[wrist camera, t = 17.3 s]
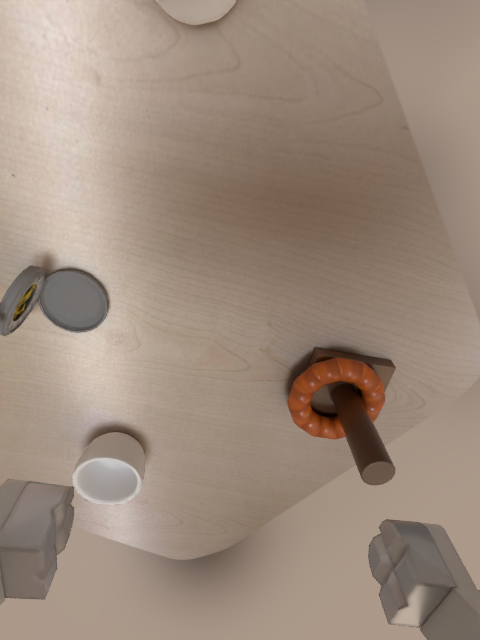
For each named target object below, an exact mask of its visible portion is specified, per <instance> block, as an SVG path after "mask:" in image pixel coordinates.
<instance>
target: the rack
mask: <svg viewBox="0 0 480 640" xmlns="http://www.w3.org/2000/svg"><path fill="white" fill-rule="evenodd" d="M337 357H340V358H346V359H352V360H358V361H362V362H364V363H365V364H367V365H368V366H369V367H370V368H371V369H372V370H373V371H375V372H376V373H377V374H378V375H379V376H380V377H381V379H382V383H383V388H384V392H385V390H386V388H387V386H388V384H389V381H390V379H391V377H392V375H393V373H394V371H395V369H396V367H395V366H394V364H393V363H392V361H391V360H386V359H380V358H374V357H368V356H362V355H356V354H350V353H344V352H338V351H332V350H326V349H320V348H315V349H314V352H313V355H312V357H311V360H310V363H309V366H308V368H309V367H310V366H311V365H313V364H315V363H319V362H322V361H326V360H329V359H333V358H337ZM310 404H311V407H312V410H313V411H314V412H316V413H317V414H318V415H320V416H326V417H336V416H338V418H339V420H340V423H341V426H342V428H343V431H344V433H345V436H346V439H347V441H348V444H349V447H350V449H351V452H352V455H353V457H354V460H355V462H356V465H357V468H358V470H359V473H360V475H361V478H362V480H363V481H364V482H365V483H367V484H369V485H381V484H384V483H386V482H388V481H389V480H391V479H392V477H393V476H394V475H395V467H394V465H393V463H392V461H391V459H390V457H389V455H388V453H387V451H386V449H385V446H384V444H383V442H382V440H381V438H380V436H379V434H378V432H377V430H376V428H375V426H374V424H373V422H372V420H371V418H370V416H369V414H368V412H367V410H366V408H365V406H364V404H363V401H362V399H361V391H360V388H359V387H357V386H356V385H355V384H354V383H351V382H345V381H337V382H333V383H330V384H326V385H324V386H323V387H321V388H320V389H319V390H318V391H317V392H315V393H314V394H313V397H312V400H311V402H310Z"/></svg>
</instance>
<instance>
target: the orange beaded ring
mask: <svg viewBox="0 0 480 640" xmlns="http://www.w3.org/2000/svg"><path fill="white" fill-rule="evenodd" d="M337 381H345V382H351V383H354V384H355V385H356V386H357V387H359V388H360V391H361V399H362V401H363V404H364V406H365V408H366V410H367V412H368V414H369V416H370V418H371V420H372V422H374V421H375V420H376V419H377V417H378V415H379V413H380V411H381V409H382V407H383V404H384V402H385V394H384V388H383V383H382V379H381V377H380V376H379V375H378V374H377V373H376V372H375V371H373V370H372V369H371V368H370V367H369V366H368V365H367V364H365V363H364V362H362V361H358V360H352V359H346V358H340V357H337V358H333V359H329V360H326V361H322V362H319V363H315V364H313V365H311V366H310V367H309V368H308V369H307V370H305V371H304V372H303V373H302V374H301V375H300V376H299V377H297V378H296V379H295V381H294V383H293V385H292V388H291V391H290V394H289V397H288V407H289V410H290V413H291V416H292V419H293V421H294V423H295V424H296V425H297V426H299V427H300V428H301V429H303V430H304V431H306V432H307V433H308V434H310V435H311V436H314V437H321V438H328V439H339V438H343V437H346V436H345V433H344V431H343V428H342V426H341V423H340V420H339V418H338V416H336V417H326V416H320V415H318V414H317V413H316V412H314V411H313V410H312V407H311V404H310V402H311V400H312V397H313V394H314V393H315V392H317V391H318V390H319V389H320V388H321V387H323V386H324V385H326V384H330V383H333V382H337Z"/></svg>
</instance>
